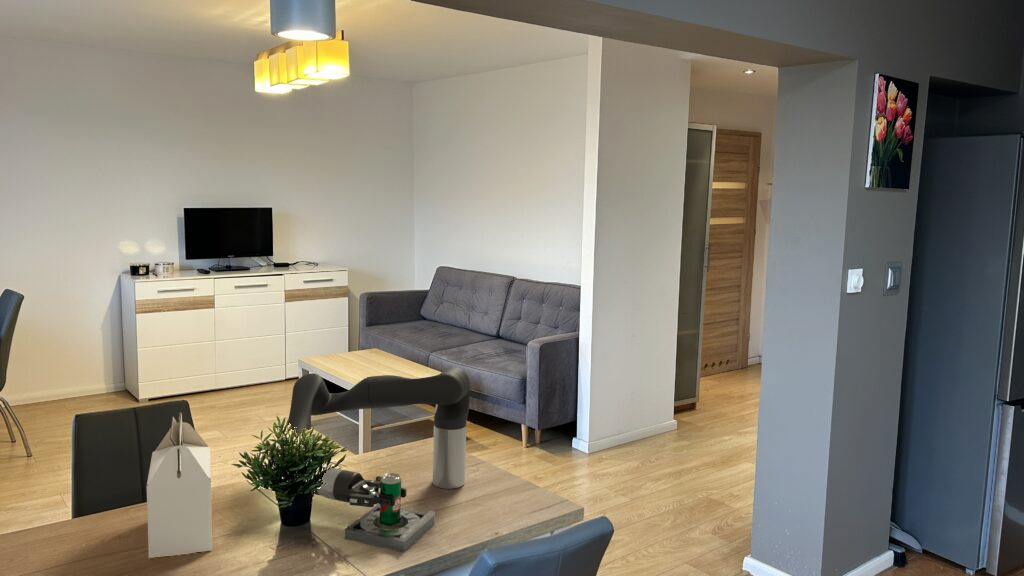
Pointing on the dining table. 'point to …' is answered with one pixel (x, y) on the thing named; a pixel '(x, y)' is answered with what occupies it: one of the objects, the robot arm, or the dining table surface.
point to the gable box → (179, 493)
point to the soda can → (390, 487)
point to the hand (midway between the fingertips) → (400, 497)
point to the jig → (390, 539)
